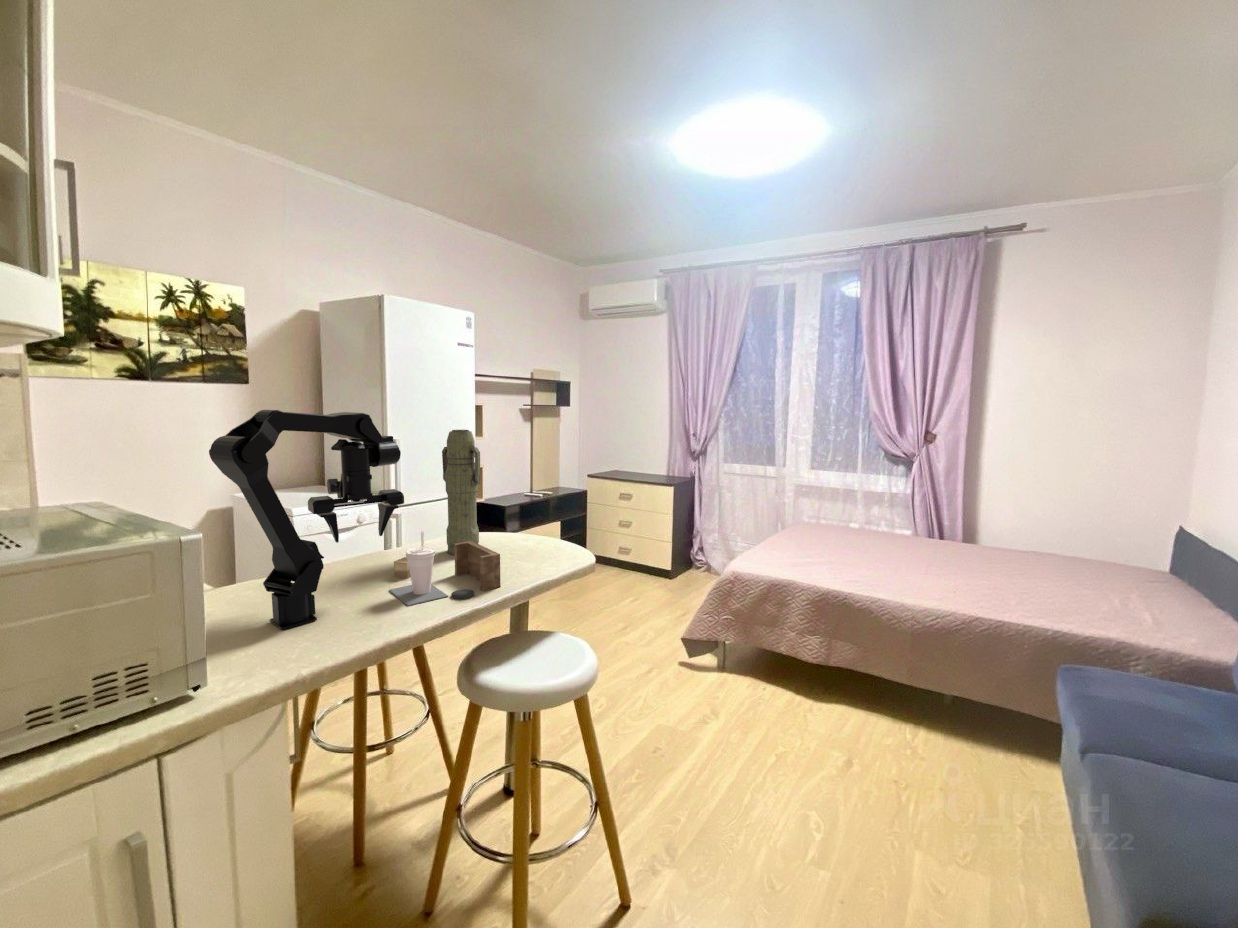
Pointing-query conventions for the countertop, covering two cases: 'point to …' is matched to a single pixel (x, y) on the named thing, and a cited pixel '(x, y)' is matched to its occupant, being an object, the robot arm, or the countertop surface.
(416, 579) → the smoothie
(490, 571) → the cubby
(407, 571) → the oak cube
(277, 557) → the robot arm
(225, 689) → the countertop surface
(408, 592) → the mat
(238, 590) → the countertop surface
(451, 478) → the thermos
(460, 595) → the dark grey disc
